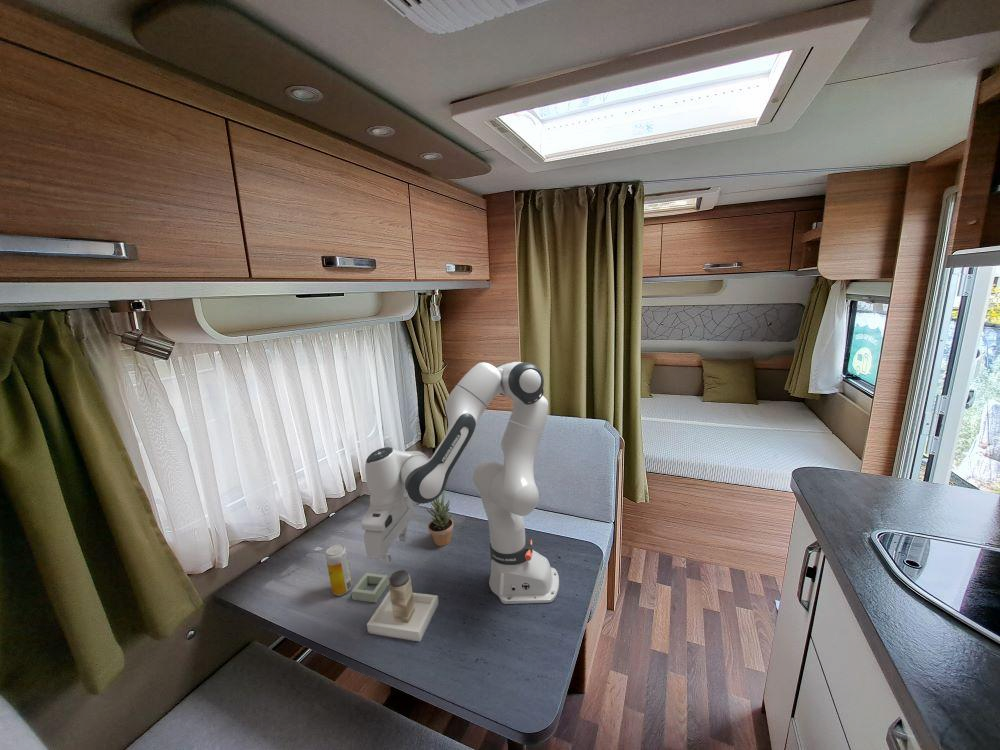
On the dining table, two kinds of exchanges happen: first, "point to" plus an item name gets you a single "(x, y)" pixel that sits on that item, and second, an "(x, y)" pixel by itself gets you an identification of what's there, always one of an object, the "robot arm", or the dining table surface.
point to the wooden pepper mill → (401, 596)
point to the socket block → (368, 595)
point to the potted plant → (440, 522)
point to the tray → (412, 630)
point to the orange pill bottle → (338, 569)
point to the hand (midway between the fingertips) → (395, 550)
